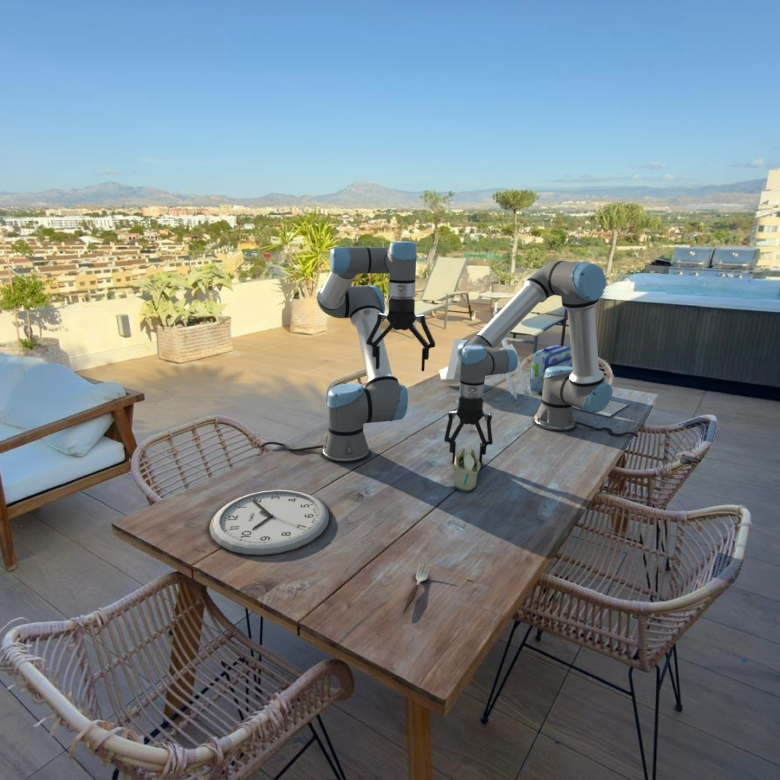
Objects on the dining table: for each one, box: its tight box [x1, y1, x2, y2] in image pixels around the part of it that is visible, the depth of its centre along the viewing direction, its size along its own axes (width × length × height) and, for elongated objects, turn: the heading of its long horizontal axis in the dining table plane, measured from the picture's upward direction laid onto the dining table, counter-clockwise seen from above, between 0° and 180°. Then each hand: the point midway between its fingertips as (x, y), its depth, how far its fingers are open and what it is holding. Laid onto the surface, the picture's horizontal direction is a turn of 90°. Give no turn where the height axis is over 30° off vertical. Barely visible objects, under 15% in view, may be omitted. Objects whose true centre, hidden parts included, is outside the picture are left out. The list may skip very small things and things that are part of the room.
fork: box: [402, 559, 432, 614], centre depth 109 cm, size 3×16×2 cm, turn 160°
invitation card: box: [573, 400, 629, 418], centre depth 226 cm, size 21×1×15 cm
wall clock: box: [209, 489, 330, 556], centre depth 135 cm, size 30×2×30 cm
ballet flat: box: [453, 447, 482, 493], centre depth 161 cm, size 8×25×8 cm, turn 173°
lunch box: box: [529, 345, 573, 394], centre depth 245 cm, size 26×11×21 cm, turn 134°
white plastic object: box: [438, 310, 531, 400], centre depth 245 cm, size 37×45×31 cm
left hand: (400, 369), depth 156 cm, fingers open, 13 cm apart
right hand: (466, 462), depth 170 cm, fingers closed on ballet flat, 8 cm apart
